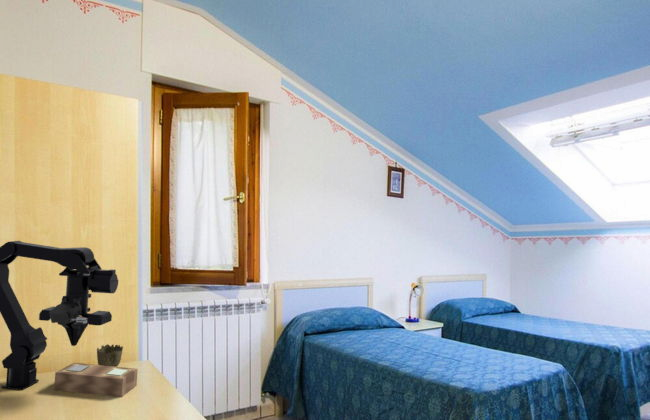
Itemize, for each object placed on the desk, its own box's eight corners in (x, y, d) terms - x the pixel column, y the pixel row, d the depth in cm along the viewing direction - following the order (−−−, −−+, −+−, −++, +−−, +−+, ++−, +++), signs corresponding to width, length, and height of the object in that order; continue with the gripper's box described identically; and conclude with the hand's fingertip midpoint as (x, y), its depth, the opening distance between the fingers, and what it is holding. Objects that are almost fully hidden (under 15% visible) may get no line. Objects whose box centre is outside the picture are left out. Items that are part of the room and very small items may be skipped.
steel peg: (65, 386, 125) (66, 369, 125) (74, 381, 129) (75, 365, 129) (78, 387, 125) (79, 371, 125) (87, 382, 129) (88, 366, 129)
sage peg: (105, 390, 124) (106, 373, 124) (113, 385, 128) (114, 368, 128) (119, 391, 124) (120, 375, 124) (126, 386, 128) (127, 369, 128)
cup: (110, 378, 133) (112, 352, 133) (89, 375, 135) (91, 349, 135) (126, 370, 140) (128, 345, 141) (106, 367, 142) (107, 342, 142)
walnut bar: (54, 390, 123) (55, 372, 123) (72, 379, 131) (73, 362, 131) (121, 396, 122) (122, 378, 122) (136, 385, 130) (137, 368, 130)
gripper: (25, 294, 119) (22, 351, 119) (90, 299, 117) (87, 357, 117) (54, 287, 130) (51, 339, 130) (114, 292, 128) (110, 345, 128)
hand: (73, 345), depth 126 cm, fingers closed
